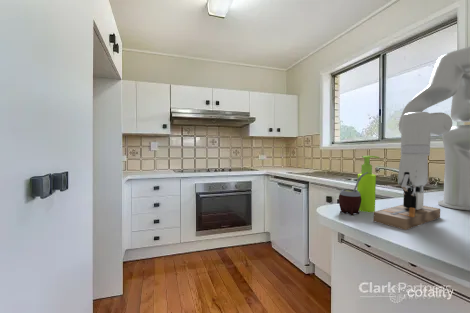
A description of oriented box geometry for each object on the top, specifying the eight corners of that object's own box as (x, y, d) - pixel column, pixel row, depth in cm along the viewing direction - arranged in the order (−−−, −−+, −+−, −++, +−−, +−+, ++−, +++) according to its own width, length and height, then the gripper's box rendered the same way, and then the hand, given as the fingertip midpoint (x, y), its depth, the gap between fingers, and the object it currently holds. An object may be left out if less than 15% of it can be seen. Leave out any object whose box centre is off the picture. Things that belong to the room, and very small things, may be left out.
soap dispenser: (380, 212, 83) (382, 156, 83) (359, 211, 85) (360, 155, 84) (374, 208, 89) (375, 155, 88) (354, 207, 90) (355, 155, 90)
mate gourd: (336, 210, 87) (337, 169, 86) (359, 211, 86) (360, 169, 85) (342, 215, 80) (343, 171, 79) (367, 217, 78) (368, 171, 78)
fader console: (408, 211, 86) (409, 196, 85) (440, 217, 78) (440, 201, 78) (373, 221, 74) (373, 203, 73) (406, 230, 66) (406, 210, 66)
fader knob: (409, 205, 80) (409, 190, 80) (423, 208, 77) (423, 192, 77) (403, 206, 78) (403, 191, 78) (417, 209, 75) (418, 194, 74)
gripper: (413, 150, 84) (411, 201, 85) (389, 150, 76) (387, 207, 76) (440, 150, 78) (438, 206, 79) (416, 151, 69) (414, 213, 70)
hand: (413, 206), depth 77 cm, fingers closed on fader knob, 4 cm apart
